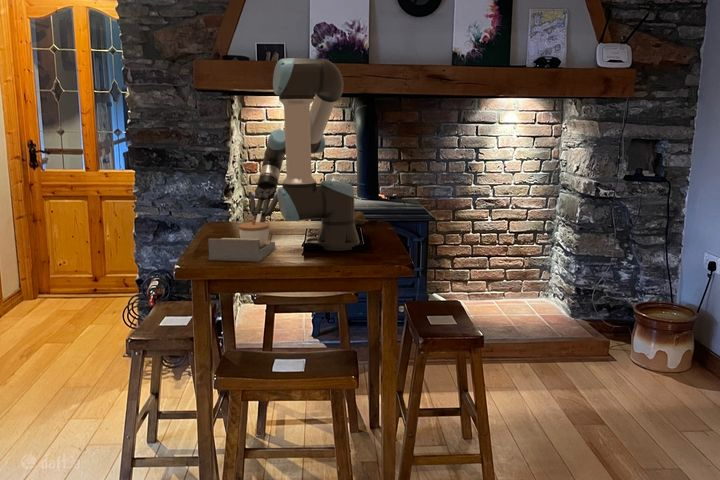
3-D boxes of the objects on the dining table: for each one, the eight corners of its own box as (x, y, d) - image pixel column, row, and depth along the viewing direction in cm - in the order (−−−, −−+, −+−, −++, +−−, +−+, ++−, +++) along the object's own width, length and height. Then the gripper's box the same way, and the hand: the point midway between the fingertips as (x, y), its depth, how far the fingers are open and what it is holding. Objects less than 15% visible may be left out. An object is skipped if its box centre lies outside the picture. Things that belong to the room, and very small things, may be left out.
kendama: (330, 223, 276) (373, 225, 268) (320, 228, 268) (363, 230, 259) (330, 209, 275) (372, 211, 266) (319, 214, 266) (363, 215, 258)
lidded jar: (265, 249, 227) (263, 223, 225) (235, 248, 228) (234, 222, 226) (273, 242, 237) (272, 217, 235) (245, 242, 238) (243, 217, 236)
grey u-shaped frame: (275, 248, 228) (274, 229, 226) (259, 261, 210) (258, 240, 208) (229, 247, 230) (228, 228, 229) (209, 260, 213) (208, 239, 211)
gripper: (287, 185, 252) (276, 236, 240) (255, 185, 254) (242, 235, 242) (282, 173, 246) (271, 225, 234) (249, 173, 248) (237, 224, 236)
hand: (257, 230), depth 238 cm, fingers closed
